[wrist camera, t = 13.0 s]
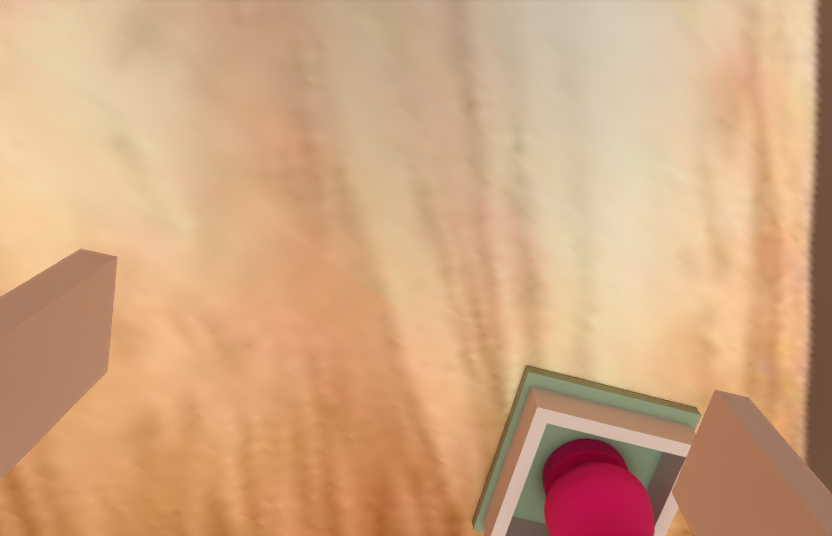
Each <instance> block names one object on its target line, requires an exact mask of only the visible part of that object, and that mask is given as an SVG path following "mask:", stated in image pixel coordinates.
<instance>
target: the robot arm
mask: <svg viewBox="0 0 832 536" xmlns="http://www.w3.org/2000/svg"><path fill="white" fill-rule="evenodd" d="M116 266H117V257H116V256H111V255H107V254H102V253H98V252H93V251H89V250H84V249H80V250H78V251H76V252H75V253H73V254H71V255H70V256H68V257H66V258H65V259H63V260H61V261H60V262H58V263H56V264H55V265H53V266H51V267H50V268H48V269H46V270H45V271H43V272H41V273H40V274H38V275H36V276H35V277H33V278H31V279H30V280H28V281H26V282H25V283H23V284H21V285H20V286H18V287H16V288H15V289H13V290H11V291H10V292H8V293H6V294H5V295H3V296H1V297H0V480H1V479H2V478H3V477H4V476H5V475H6V474H7V473H8V472H9V471H10V470H11V469H12V468H13V467H14V466H15V465H16V464H17V463H18V462H19V461H20V460H21V459H22V458H23V457H24V456H25V455H26V454H27V453H28V452H29V451H30V450H31V449H32V448H33V447H34V446H35V445H36V444H37V443H38V442H39V441H40V440H41V439H42V437H43V436H44V435H45V434H46V433H47V432H48V431H49V430H50V429H51V428H52V427H53V426H54V425H55V424H56V423H57V422H58V421H59V420H60V419H61V418H62V417H63V416H64V415H65V414H66V413H67V412H68V411H69V410H70V409H71V408H72V407H73V406H74V405H75V404H76V403H77V402H78V401H79V400H80V399H81V398H82V397H83V396H84V395H85V394H86V393H87V392H88V391H89V390H90V389H91V388H92V386H93V385H94V384H95V383H96V382H97V381H98V380H99V379H100V378H101V377H102V376H103V375H104V374H105V373H106V372H107V369H108V357H109V346H110V335H111V323H112V312H113V300H114V289H115V278H116ZM671 493H672V495H673V497H674V499H675V500H676V502H677V504H678V506H679V508H680V510H681V512H682V514H683V516H684V518H685V520H686V522H687V524H688V526H689V528H690V530H691V532H692V534H693V536H832V494H831V493H830V492H829V491H828V489H827V488H826V487H825V486H824V485H823V484H822V482H821V481H820V480H819V479H818V478H817V477H816V476H815V474H814V473H813V472H812V471H811V470H810V468H809V467H808V466H807V465H806V464H805V463H804V461H803V460H802V459H801V458H800V457H799V456H798V454H797V453H796V452H795V451H794V450H793V449H792V448H791V446H790V445H789V444H788V443H787V442H786V441H785V439H784V438H783V437H782V436H781V435H780V434H779V432H778V431H777V430H776V429H775V428H774V427H773V425H772V424H771V423H770V422H769V421H768V420H767V418H766V417H765V416H764V415H763V414H762V413H761V411H760V410H759V409H758V408H757V407H756V406H755V404H754V403H753V402H752V401H751V400H750V399H749V398H748V397H745V396H740V395H736V394H731V393H727V392H722V391H718V390H715V391H714V393H713V396H712V398H711V400H710V403H709V405H708V408H707V410H706V412H705V415H704V417H703V419H702V422H701V424H700V426H699V429H698V431H697V433H696V436H695V438H694V441H693V443H692V445H691V448H690V450H689V452H688V455H687V457H686V459H685V462H684V464H683V466H682V469H681V471H680V474H679V476H678V478H677V481H676V483H675V485H674V488H673V490H672V492H671Z"/></svg>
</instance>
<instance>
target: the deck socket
mask: <svg viewBox="0 0 832 536" xmlns="http://www.w3.org/2000/svg"><path fill="white" fill-rule="evenodd" d="M700 417H701V414H700V412H699V411H698V410H697V408H694V407H690V406H686V405H682V404H678V403H674V402H670V401H666V400H662V399H658V398H654V397H650V396H646V395H642V394H638V393H634V392H630V391H626V390H622V389H618V388H614V387H610V386H606V385H602V384H598V383H594V382H590V381H586V380H582V379H578V378H574V377H570V376H566V375H562V374H558V373H554V372H550V371H546V370H542V369H538V368H534V367H530V366H526V369H525V372H524V375H523V378H522V380H521V383H520V386H519V389H518V392H517V395H516V398H515V401H514V403H513V406H512V409H511V412H510V415H509V418H508V421H507V424H506V426H505V429H504V432H503V435H502V438H501V441H500V444H499V446H498V449H497V452H496V455H495V458H494V461H493V464H492V467H491V469H490V472H489V475H488V478H487V481H486V484H485V487H484V490H483V492H482V495H481V498H480V501H479V504H478V507H477V510H476V512H475V515H474V518H473V521H472V522H473V530H475V531H480V532H484V534H485V536H550V533H549V531H548V528H547V525H546V521H545V517H544V506H545V500H546V494H545V490H544V486H543V481H542V478H543V470H544V466H545V464H546V462H547V460H548V458H549V457H550V456H551V455H552V454H553V453H554V452H555V451H556V450H557V449H558V448H560V447H561V446H563V445H565V444H567V443H570V442H573V441H576V440H583V439H592V440H598V441H601V442H604V443H607V444H609V445H610V446H612V447H613V448H615V449H616V450H617V451H618V452H619V453H620V454H621V456H622V457H623V459H624V461H625V463H626V465H627V467H628V470H629V472H631V473H632V474H633V475H635V476H636V477H637V478H638V479H639V481H640V482H641V483H642V484H643V486H644V487H645V489H646V491H647V493H648V495H649V498H650V501H651V505H652V508H653V511H654V524H655V532H654V536H666V533H667V531H668V529H669V527H670V525H671V523H672V520H673V518H674V516H675V514H676V512H677V510H678V507H679V506H678V504H677V502H676V500H675V499H674V497H673V495H672V493H671V492H672V490H673V488H674V485H675V483H676V481H677V478H678V476H679V474H680V471H681V469H682V466H683V464H684V462H685V459H686V457H687V455H688V452H689V450H690V448H691V445H692V443H693V441H694V438H695V436H696V434H695V432H694V430H695V428H696V426H697V424H698V421H699V419H700Z"/></svg>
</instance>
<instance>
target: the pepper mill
mask: <svg viewBox="0 0 832 536" xmlns="http://www.w3.org/2000/svg"><path fill="white" fill-rule="evenodd" d="M542 481H543V486H544V490H545V494H546V500H545V506H544V517H545V521H546V525H547V528H548V531H549V533H550V536H654V532H655V524H654V511H653V508H652V505H651V501H650V498H649V495H648V493H647V491H646V489H645V487H644V486H643V484H642V483H641V482H640V481H639V479H638V478H637V477H636V476H635V475H633V474H632V473H631V472H629V470H628V467H627V465H626V463H625V461H624V459H623V457H622V456H621V454H620V453H619V452H618V451H617V450H616V449H615V448H613V447H612V446H610V445H609V444H607V443H604V442H601V441H598V440H592V439H583V440H576V441H573V442H570V443H567V444H565V445H563V446H561V447H560V448H558V449H557V450H556V451H555V452H554V453H553V454H552V455H551V456H550V457H549V458H548V460H547V462H546V464H545V466H544V470H543V478H542Z"/></svg>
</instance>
